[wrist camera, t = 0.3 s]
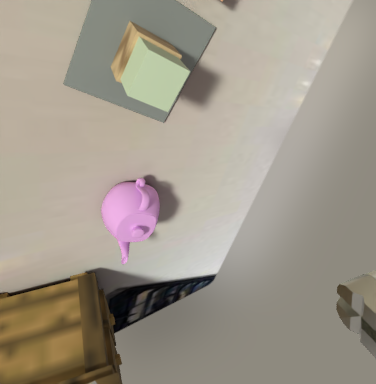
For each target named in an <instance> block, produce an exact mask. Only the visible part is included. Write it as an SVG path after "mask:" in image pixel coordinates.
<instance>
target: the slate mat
mask: <svg viewBox="0 0 376 384" xmlns="http://www.w3.org/2000/svg"><path fill="white" fill-rule="evenodd" d="M129 21H131V22H133V23H135V24H137V25H138V26H140V27H142V28H144V29H146V30H147V31H149V32H151V33H153V34H154V35H156V36H158V37H160V38H161V39H163V40H165V41H167V42H169V43H170V44H172V45H173V46H174V47H175V49H176V50H177V51H178V52H179V53H180V54H181V55H182V57H181V59H180V60H181V61H182V62H183V64H184V65H185V66H186V67H187V68H188V69H189V70H190V73H189V75H188V77H187V79H188V78H189V76H190V74H191V72H192V70H193V69H194V67H195V65H196V63H197V61H198V59H199V58H200V56H201V54H202V52H203V50H204V49H205V47H206V45H207V43H208V41H209V39H210V38H211V36H212V34H213V32H214V30H215V29H216V27H215V26H213V25H212V24H210V23H209V22H207V21H206V20H204V19H203V18H201V17H200V16H198V15H197V14H195V13H194V12H192V11H191V10H189V9H188V8H186V7H185V6H183V5H182V4H180V3H179V2H177V1H176V0H92V1H91V4H90V7H89V10H88V13H87V16H86V19H85V22H84V25H83V27H82V30H81V33H80V36H79V39H78V42H77V45H76V48H75V51H74V54H73V57H72V60H71V63H70V66H69V68H68V71H67V74H66V77H65V80H64V83H63V84H64V85H66V86H69V87H71V88H74V89H76V90H79V91H82V92H84V93H87V94H90V95H92V96H95V97H97V98H100V99H103V100H105V101H108V102H111V103H113V104H116V105H118V106H121V107H124V108H126V109H129V110H132V111H134V112H137V113H139V114H142V115H145V116H147V117H150V118H153V119H155V120H158V121H160V122H163V123H164V121H165V119H166V118H167V116H168V114H169V112H170V110H171V108H172V107H173V105H174V103H175V101H176V99H177V98H178V96H179V94H180V92H181V90H182V89H183V87H184V85H185V83H186V81H187V79H186V80H185V82H184V84H183V86H182V88H181V90H180V91H179V93H178V95H177V97H176V99H175V101H174V102H173V104H172V106H171V108H170V110H169V111H168V112H166V111H164V110H161V109H159V108H156V107H154V106H151V105H149V104H146V103H144V102H141V101H139V100H137V99H134V98H132V97H129V96H127V94H126V92H125V89H124V87H123V85H122V83H120V82H117V81H116V79H115V77H114V74H113V72H112V69H111V65H112V62H113V60H114V57H115V55H116V52H117V50H118V48H119V45H120V43H121V40H122V38H123V35H124V33H125V31H126V28H127V26H128V23H129Z"/></svg>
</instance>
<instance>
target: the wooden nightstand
mask: <svg viewBox="0 0 376 384" xmlns="http://www.w3.org/2000/svg"><path fill="white" fill-rule="evenodd" d="M114 324H115V320H114V317H113V314H110V311H109V307H108V304H107V301H106V297H105V294H104V291H103V289H101V290H98V282H97V278H96V275H95V272H94V273H90V274H87V272H86V273H82V274H78V275H74V276H70V281H69V282H65V283H61V284H57V285H53V286H49V287H45V288H42V289H38V290H34V291H30V292H26V293H22V294H18V295H14V296H11V297H10V295H9V294H8V293H3V294H0V384H87V383H90V382H93V381H96V383H97V384H122V380H121V374H120V369H119V365H121V364H122V362H121V358H120V355H119V354H117V351H116V348H115V346H116V342H115V336H114V330H113V325H114Z"/></svg>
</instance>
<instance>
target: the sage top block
mask: <svg viewBox="0 0 376 384" xmlns="http://www.w3.org/2000/svg"><path fill="white" fill-rule="evenodd" d="M189 73H190V70H189V69H188V68H187V67H186V66H185V65H184V64H183V62H182V61H181V60H180V59H179V58H178V57H176V56H175V55H173V54H171V53H169V52H167V51H165V50H164V49H162V48H160V47H158V46H156V45H154V44H152V43H151V42H149V41H147V40H145V39H143V38H141V37H140V36H139V37H138V40H137V42H136V44H135V47H134V49H133V51H132V54H131V56H130V58H129V60H128V63H127V65H126V67H125V70H124V72H123V74H122V76H121V79H120V80H121V82H122V85H123V87H124V89H125V92H126V94H127V96H129V97H132V98H134V99H137V100H139V101H141V102H144V103H146V104H149V105H151V106H154V107H156V108H159V109H161V110H164V111H166V112H168V111H169V110H170V108H171V106H172V104H173V102H174V101H175V99H176V97H177V95H178V93H179V91H180V90H181V88H182V86H183V84H184V82H185V80H186V79H187V77H188V75H189Z"/></svg>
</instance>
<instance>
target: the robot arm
mask: <svg viewBox="0 0 376 384" xmlns="http://www.w3.org/2000/svg"><path fill="white" fill-rule="evenodd" d="M337 293H338V294H339V295H340V298H339V299H338V301H337V312H338V314H339V316H340V318H341V320H342V322H343V323H344V324H345V325H346V327H347V328H348V329H349V330H350V331H353V332H355V333H357V334H359V336H360V342H361V343H362V344H363V345H364V346H365V347H366V348H367V350H369V352H370V353H371V354H372V355H373V356H374V357H375V358H376V270H374V271H372V272H369V273H367V274H363V275H361V276H358V277H356V278H354V279H351V280H349V281H346V282H344V283H341V284H340V285H339V286H338V287H337ZM87 384H97V383H96V381H93V382H90V383H87Z"/></svg>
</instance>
